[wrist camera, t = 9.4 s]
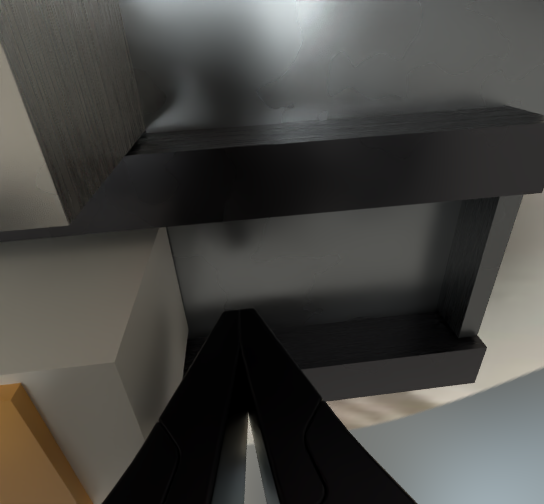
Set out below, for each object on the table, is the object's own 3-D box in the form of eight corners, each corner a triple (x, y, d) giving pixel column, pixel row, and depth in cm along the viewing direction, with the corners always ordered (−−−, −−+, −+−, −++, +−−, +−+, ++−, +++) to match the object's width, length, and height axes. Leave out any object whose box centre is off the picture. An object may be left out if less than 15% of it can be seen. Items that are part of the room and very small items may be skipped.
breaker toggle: (163, 215, 10) (109, 378, 5) (188, 329, 12) (165, 515, 7) (4, 230, 9) (-200, 414, 5) (58, 343, 11) (-49, 546, 7)
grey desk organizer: (553, -39, 9) (1108, -155, 3) (455, 317, 15) (595, 493, 9) (-167, -6, 8) (-1153, -94, 2) (37, 365, 14) (-93, 597, 8)
